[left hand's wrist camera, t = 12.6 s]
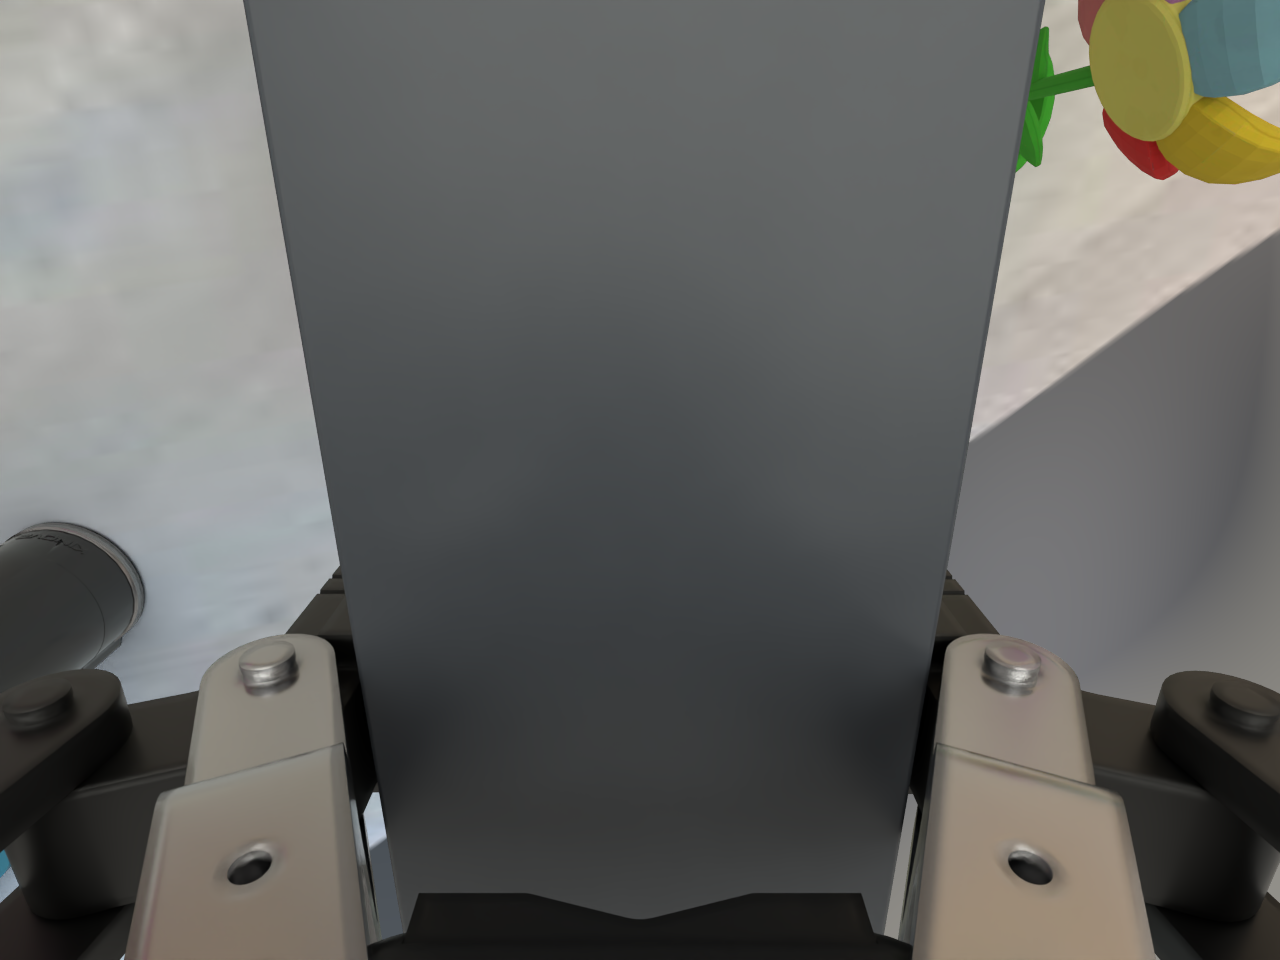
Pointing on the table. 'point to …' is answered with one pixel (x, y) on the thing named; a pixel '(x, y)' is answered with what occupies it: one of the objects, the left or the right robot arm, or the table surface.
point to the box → (644, 414)
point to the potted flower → (1171, 85)
